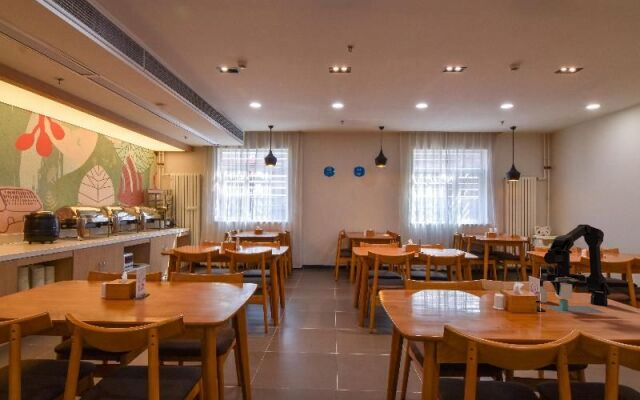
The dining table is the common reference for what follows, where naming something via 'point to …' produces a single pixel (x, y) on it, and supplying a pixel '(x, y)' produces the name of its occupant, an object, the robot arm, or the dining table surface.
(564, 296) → the white rectangular block
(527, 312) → the dining table surface
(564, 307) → the post
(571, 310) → the board
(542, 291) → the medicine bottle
